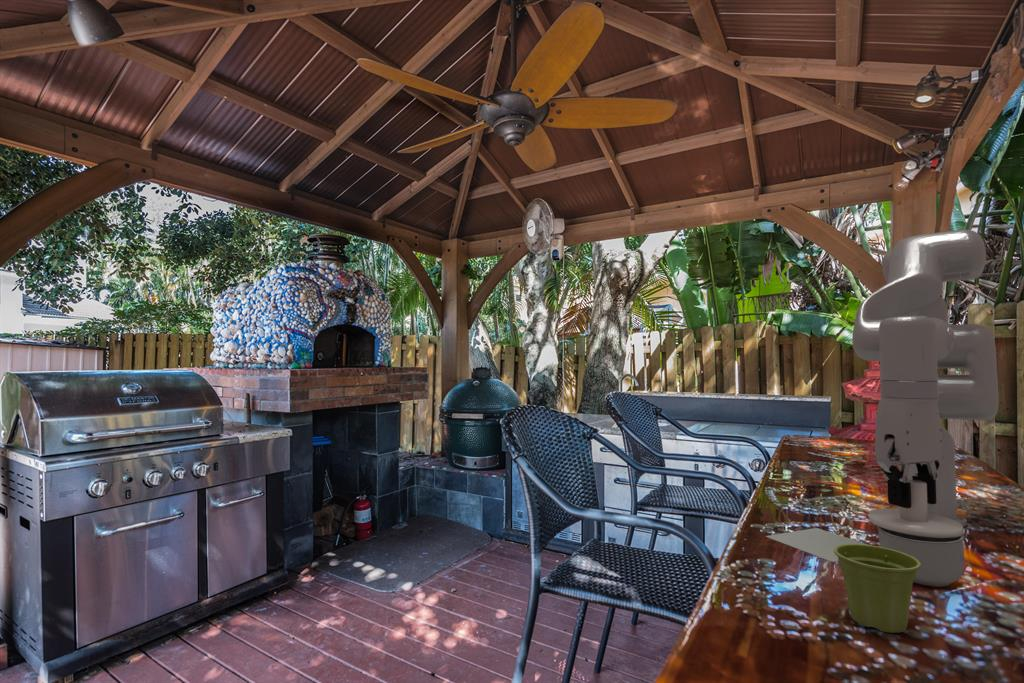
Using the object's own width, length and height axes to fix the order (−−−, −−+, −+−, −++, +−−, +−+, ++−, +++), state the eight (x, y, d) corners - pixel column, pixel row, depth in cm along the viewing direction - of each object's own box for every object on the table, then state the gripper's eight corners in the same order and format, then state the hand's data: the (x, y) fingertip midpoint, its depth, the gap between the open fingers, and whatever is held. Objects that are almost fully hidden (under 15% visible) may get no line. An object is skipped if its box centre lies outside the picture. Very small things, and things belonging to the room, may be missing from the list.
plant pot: (819, 606, 73) (818, 544, 73) (882, 604, 74) (880, 542, 74) (871, 642, 63) (869, 570, 64) (942, 639, 64) (940, 568, 65)
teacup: (983, 597, 76) (981, 541, 76) (899, 591, 78) (897, 537, 78) (928, 561, 89) (926, 514, 90) (857, 557, 91) (856, 511, 92)
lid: (899, 511, 91) (898, 471, 92) (981, 532, 80) (979, 486, 81) (851, 519, 87) (850, 476, 87) (931, 541, 76) (929, 493, 76)
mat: (816, 529, 106) (816, 527, 106) (887, 553, 93) (887, 550, 93) (765, 538, 101) (765, 536, 101) (832, 564, 88) (832, 561, 88)
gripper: (917, 389, 91) (920, 493, 91) (850, 391, 85) (853, 503, 84) (967, 392, 84) (971, 504, 84) (898, 394, 78) (902, 516, 77)
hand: (912, 502), depth 84 cm, fingers open, 5 cm apart
